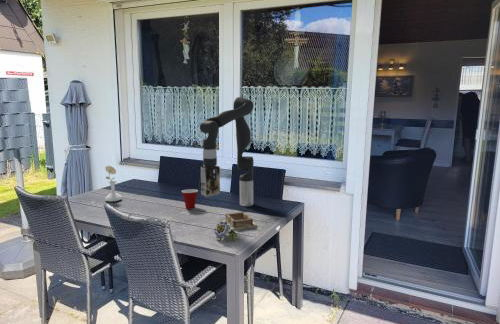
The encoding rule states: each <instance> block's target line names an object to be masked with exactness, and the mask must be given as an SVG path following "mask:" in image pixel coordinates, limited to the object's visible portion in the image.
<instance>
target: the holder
mask: <svg viewBox="0 0 500 324" xmlns="http://www.w3.org/2000/svg"><path fill="white" fill-rule="evenodd" d="M226 220H228V223H227V225H231V224H232V227H231V228H230V229H232V230H233V231H238V229H239V230H243V229H250V228H258V225H257V224H256V223H255V222H254V219H253V218H252V217H251V216H249V215H248V214H247V213H246V212H245V211H239V212H233V213H225V219H221V222H225V221H226ZM237 227H238V229H237ZM234 228H235V229H234Z"/></svg>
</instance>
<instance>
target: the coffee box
mask: <svg viewBox="0 0 500 324" xmlns="http://www.w3.org/2000/svg"><path fill="white" fill-rule="evenodd" d="M215 169H216V180H215V187H211V180H210V175H211V171H210V168H209V167H207V166H204V165H203V166H200V194H201V195H202V196H204V197H205V198H206V197H207V198H208V197H212V196H216V195H217V196H218V195H221V178H220V177H221V175H220V171H221V170H220V169H221V167H220V166H219V165H216V166H214V170H215Z"/></svg>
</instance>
